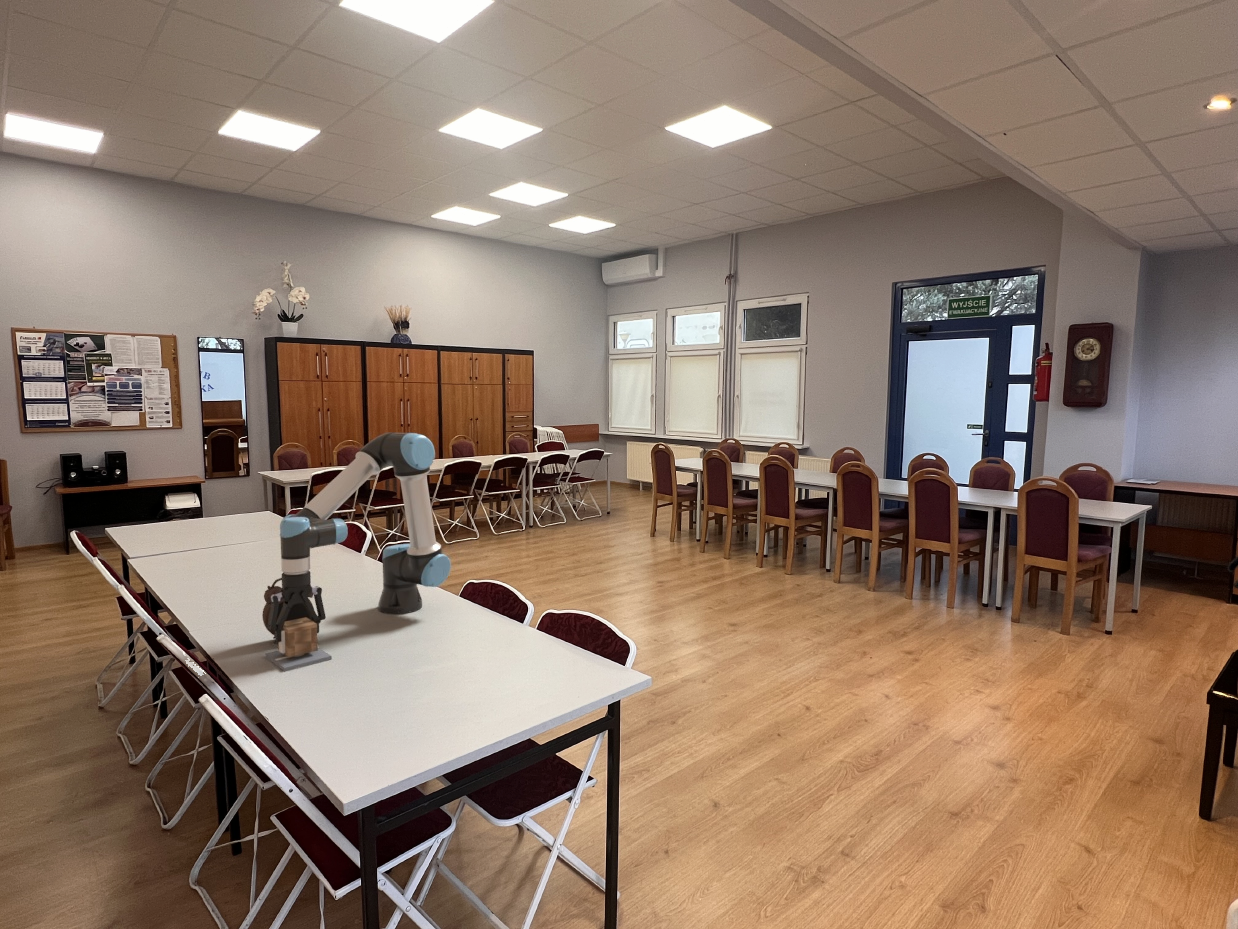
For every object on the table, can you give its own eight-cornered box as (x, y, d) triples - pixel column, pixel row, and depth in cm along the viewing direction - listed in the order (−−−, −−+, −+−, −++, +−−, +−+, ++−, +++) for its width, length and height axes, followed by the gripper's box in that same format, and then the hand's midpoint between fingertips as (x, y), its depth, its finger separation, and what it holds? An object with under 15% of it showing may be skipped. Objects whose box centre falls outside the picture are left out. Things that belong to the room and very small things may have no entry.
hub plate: (310, 645, 207) (310, 626, 207) (331, 659, 197) (331, 639, 197) (265, 656, 198) (264, 636, 198) (284, 671, 188) (284, 650, 187)
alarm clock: (266, 648, 205) (264, 583, 203) (262, 641, 211) (260, 577, 209) (317, 638, 214) (316, 576, 212) (312, 632, 219) (311, 571, 218)
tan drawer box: (306, 643, 203) (305, 616, 202) (317, 650, 198) (316, 622, 197) (278, 650, 197) (277, 622, 197) (288, 657, 192) (288, 629, 191)
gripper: (326, 563, 205) (328, 636, 207) (252, 575, 190) (254, 654, 192) (337, 567, 200) (339, 643, 202) (261, 580, 185) (264, 661, 187)
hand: (298, 648), depth 197 cm, fingers closed on tan drawer box, 8 cm apart
